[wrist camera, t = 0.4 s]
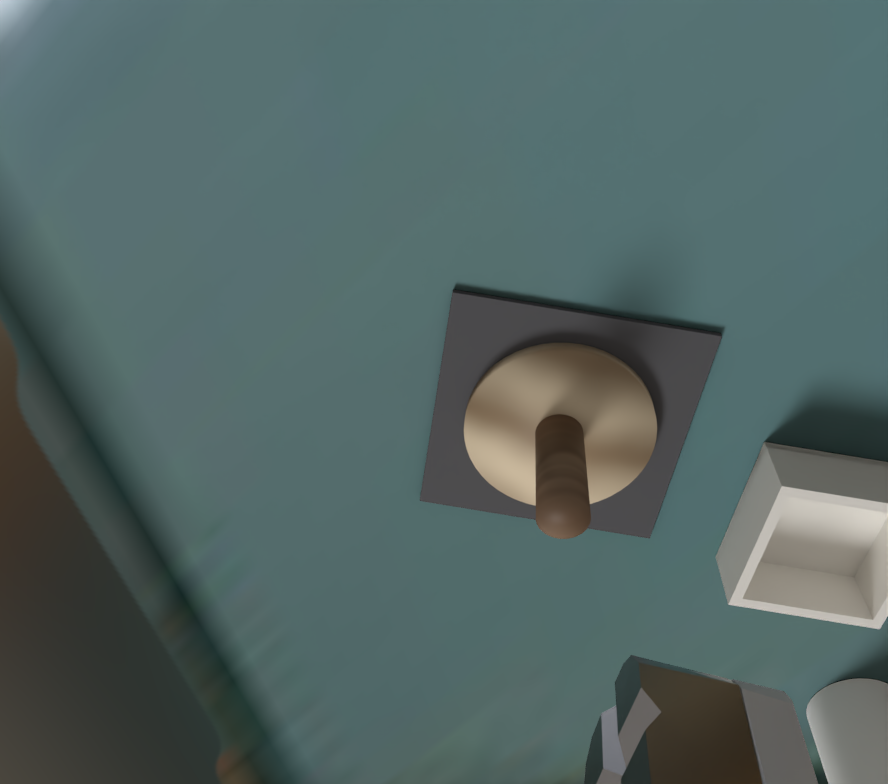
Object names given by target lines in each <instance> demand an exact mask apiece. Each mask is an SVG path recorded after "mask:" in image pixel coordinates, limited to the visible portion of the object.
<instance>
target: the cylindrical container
mask: <svg viewBox="0 0 888 784" xmlns="http://www.w3.org/2000/svg"><path fill="white" fill-rule="evenodd" d="M806 712H807V718H808V722H809V725H810V728H811V731H812V734H813V737H814V740H815V743H816V746H817V749H818V753H819V756H820V759H821V762H822V765H823V768H824V771H825V774H826V777H827V780H828V784H888V684H887V683H885V682H882V681H879V680H874V679H863V678H857V679H848V680H843V681H839V682H836V683H833V684H831V685H829V686H827V687H825V688H823V689H822V690H820V691H819V692H817V693H816V694H815V695H814V696H813V697H812V698H811V700H810V702H809V703H808V706H807V710H806Z"/></svg>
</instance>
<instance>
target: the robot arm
mask: <svg viewBox="0 0 888 784" xmlns="http://www.w3.org/2000/svg"><path fill="white" fill-rule="evenodd" d="M615 692H616V706H615V707H613V708H611V709H609V710H607V711H605V712H603V713H601V716H600V718H599V721H598V723H597V726H596V728H595V731H594V733H593V736H592V739H591V744H590V748H589V752H588V757H587V761H586V768H585V780H584V784H818V782H817V779H816V776H815V773H814V769H813V766H812V763H811V760H810V756H809V753H808V750H807V747H806V744H805V740H804V737H803V734H802V731H801V728H800V724H799V721H798V718H797V715H796V711H795V708H794V705H793V702H792V700H791V699H790V698H789V696H788V695H787V694H786V693H785V692H784V691H780V690H776V689H772V688H768V687H763V686H759V685H755V684H751V683H747V682H742V681H738V680H734V679H733V680H731V681H730V680H729V679H727V678H723V677H719V676H715V675H710V674H706V673H702V672H698V671H694V670H690V669H686V668H682V667H678V666H674V665H670V664H665V663H661V662H657V661H653V660H649V659H645V658H641V657H637V656H633V655H631V656H630V657H629V658H628V659H627V660H626V662H625V663H624V664H623V666H622V668H621V670H620V672H619V675H618V677H617V679H616V681H615Z"/></svg>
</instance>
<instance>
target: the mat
mask: <svg viewBox="0 0 888 784" xmlns="http://www.w3.org/2000/svg"><path fill="white" fill-rule="evenodd" d="M721 338H722V335H721V333H716V332H710V331H704V330H698V329H692V328H686V327H680V326H674V325H667V324H661V323H655V322H649V321H643V320H637V319H631V318H625V317H618V316H612V315H606V314H600V313H594V312H588V311H582V310H576V309H569V308H563V307H557V306H551V305H545V304H539V303H533V302H527V301H520V300H514V299H508V298H502V297H496V296H490V295H484V294H478V293H471V292H465V291H459V290H453V293H452V299H451V305H450V312H449V318H448V324H447V331H446V337H445V344H444V350H443V356H442V363H441V369H440V375H439V382H438V388H437V395H436V401H435V407H434V414H433V420H432V426H431V433H430V439H429V445H428V452H427V458H426V465H425V471H424V477H423V484H422V490H421V496H420V501H424V502H430V503H436V504H443V505H449V506H455V507H461V508H467V509H473V510H479V511H485V512H491V513H498V514H504V515H510V516H516V517H522V518H528V519H534V520H536V506H535V505H530V504H527V503H524V502H521V501H518V500H516V499H513V498H511V497H509V496H507V495H505V494H504V493H502V492H500V491H499V490H497V489H496V488H495V487H493V486H492V485H491V484H489V483H488V482H487V481H486V480H485V479H484V478H483V477H482V476H481V474H480V473H479V472H478V470H477V469H476V468H475V466H474V464H473V463H472V461H471V459H470V457H469V454H468V452H467V449H466V444H465V440H464V422H465V413H466V408H467V404H468V400H469V398H470V395H471V393H472V391H473V389H474V387H475V386H476V384H477V383H478V381H479V380H480V379H481V378H482V376H483V375H484V374H485V373H486V372H487V371H488V370H489V369H490V368H491V367H492V366H493V365H495V364H496V363H498V362H499V361H500V360H502V359H503V358H505V357H507V356H509V355H511V354H513V353H515V352H517V351H520V350H522V349H525V348H528V347H532V346H536V345H540V344H547V343H575V344H582V345H587V346H591V347H594V348H597V349H600V350H603V351H605V352H607V353H609V354H611V355H613V356H615V357H617V358H618V359H620V360H621V361H623V362H624V363H626V364H627V365H628V366H629V367H630V368H632V369H633V370H634V371H635V372H636V373H637V375H638V376H639V377H640V378H641V379H642V381H643V382H644V384H645V386H646V387H647V389H648V391H649V393H650V396H651V398H652V402H653V406H654V410H655V414H656V419H657V437H656V443H655V447H654V450H653V452H652V455H651V457H650V459H649V461H648V463H647V464H646V466H645V468H644V469H643V470H642V471H641V473H640V474H639V475H638V476H637V477H636V478H635V479H634V480H633V481H632V482H631V483H630V484H629V485H628V486H626V487H625V488H623V489H622V490H621V491H619V492H617V493H616V494H614V495H612V496H610V497H608V498H606V499H603V500H601V501H598V502H595V503H592V504H590V511H591V522H590V525H589V526H588V528H589V529H595V530H602V531H608V532H614V533H620V534H626V535H632V536H638V537H644V538H650V536H651V533H652V530H653V527H654V524H655V522H656V519H657V516H658V513H659V511H660V508H661V505H662V502H663V499H664V497H665V494H666V491H667V488H668V485H669V483H670V480H671V477H672V474H673V472H674V469H675V466H676V463H677V460H678V458H679V455H680V452H681V449H682V446H683V444H684V441H685V438H686V435H687V432H688V430H689V427H690V424H691V421H692V419H693V416H694V413H695V410H696V407H697V405H698V402H699V399H700V396H701V393H702V391H703V388H704V385H705V382H706V380H707V377H708V374H709V371H710V368H711V366H712V363H713V360H714V357H715V354H716V352H717V349H718V346H719V343H720V340H721Z"/></svg>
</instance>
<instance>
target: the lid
mask: <svg viewBox="0 0 888 784" xmlns="http://www.w3.org/2000/svg"><path fill="white" fill-rule="evenodd" d="M656 437H657V419H656V414H655V410H654V406H653V402H652V398H651V396H650V393H649V391H648V389H647V387H646V386H645V384H644V382H643V381H642V379H641V378H640V377H639V376H638V375H637V373H636V372H635V371H634V370H633V369H632V368H630V367H629V366H628V365H627V364H626V363H624V362H623V361H621V360H620V359H618V358H617V357H615V356H613V355H611V354H609V353H607V352H605V351H603V350H600V349H597V348H594V347H591V346H587V345H582V344H575V343H547V344H540V345H536V346H532V347H528V348H525V349H522V350H520V351H517V352H515V353H513V354H511V355H509V356H507V357H505V358H503V359H502V360H500V361H499V362H498V363H496V364H495V365H493V366H492V367H491V368H490V369H489V370H488V371H487V372H486V373H485V374H484V375H483V376H482V378H481V379H480V380H479V381H478V383H477V384H476V386H475V387H474V389H473V391H472V393H471V395H470V398H469V400H468V404H467V408H466V413H465V422H464V440H465V444H466V449H467V452H468V454H469V457H470V459H471V461H472V463H473V464H474V466H475V468H476V469H477V470H478V472H479V473H480V474H481V476H482V477H483V478H484V479H485V480H486V481H487V482H488V483H489V484H491V485H492V486H493V487H495V488H496V489H497V490H499V491H500V492H502V493H504V494H505V495H507V496H509V497H511V498H513V499H516V500H518V501H521V502H524V503H527V504H530V505H535V506H536V522H537V525H538V527H539V528H540V529H541V530H542V531H543V532H544V533H545V534H547V535H549V536H551V537H554V538H560V539H567V538H573V537H576V536H578V535H580V534H582V533H583V532H584V531H585V530H586V529H587V528H588V526H589V525H590V522H591V511H590V504H592V503H595V502H598V501H601V500H603V499H606V498H608V497H610V496H612V495H614V494H616V493H617V492H619V491H621V490H622V489H623V488H625V487H626V486H628V485H629V484H630V483H631V482H632V481H633V480H634V479H635V478H636V477H637V476H638V475H639V474H640V473H641V471H642V470H643V469H644V468H645V466H646V464H647V463H648V461H649V459H650V457H651V455H652V452H653V450H654V447H655V443H656Z"/></svg>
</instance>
